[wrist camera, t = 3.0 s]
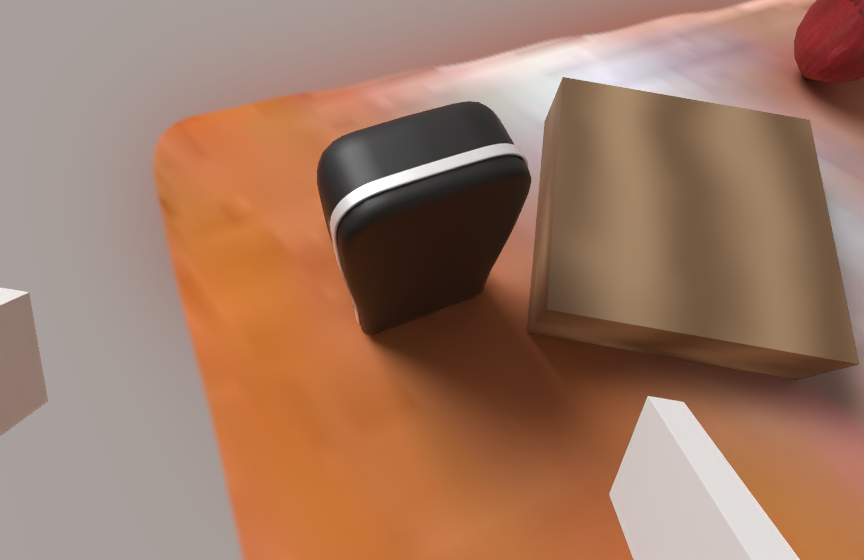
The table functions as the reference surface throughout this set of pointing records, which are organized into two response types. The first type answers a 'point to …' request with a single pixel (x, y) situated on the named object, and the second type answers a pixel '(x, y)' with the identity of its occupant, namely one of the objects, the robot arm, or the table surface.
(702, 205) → the walnut slab
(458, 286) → the battery charger
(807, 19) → the onion
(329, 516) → the table surface
